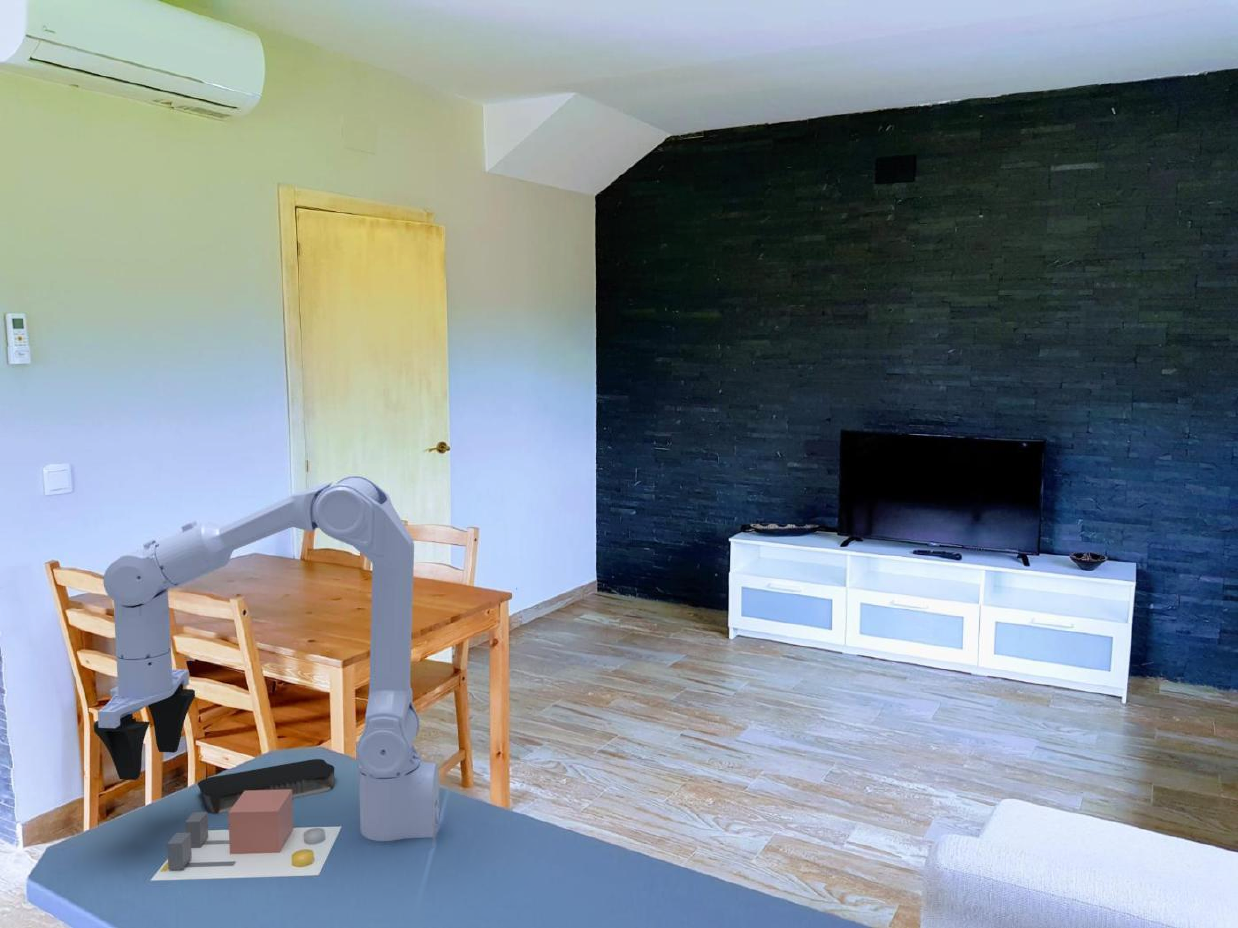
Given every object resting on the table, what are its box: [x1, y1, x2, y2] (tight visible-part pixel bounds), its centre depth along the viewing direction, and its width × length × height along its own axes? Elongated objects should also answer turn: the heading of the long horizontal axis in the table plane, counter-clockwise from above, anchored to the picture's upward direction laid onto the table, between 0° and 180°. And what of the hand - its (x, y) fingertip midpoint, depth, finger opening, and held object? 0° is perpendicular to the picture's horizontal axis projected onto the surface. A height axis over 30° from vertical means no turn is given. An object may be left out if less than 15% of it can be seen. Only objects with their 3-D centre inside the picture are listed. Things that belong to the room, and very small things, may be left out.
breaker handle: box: [166, 832, 192, 870], centre depth 104 cm, size 2×2×3 cm
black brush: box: [197, 758, 335, 815], centre depth 123 cm, size 16×8×4 cm, turn 118°
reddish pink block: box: [227, 789, 294, 854], centre depth 109 cm, size 6×6×5 cm
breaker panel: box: [150, 811, 342, 882], centre depth 107 cm, size 18×11×4 cm, turn 94°
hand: (149, 764), depth 109 cm, fingers open, 7 cm apart
